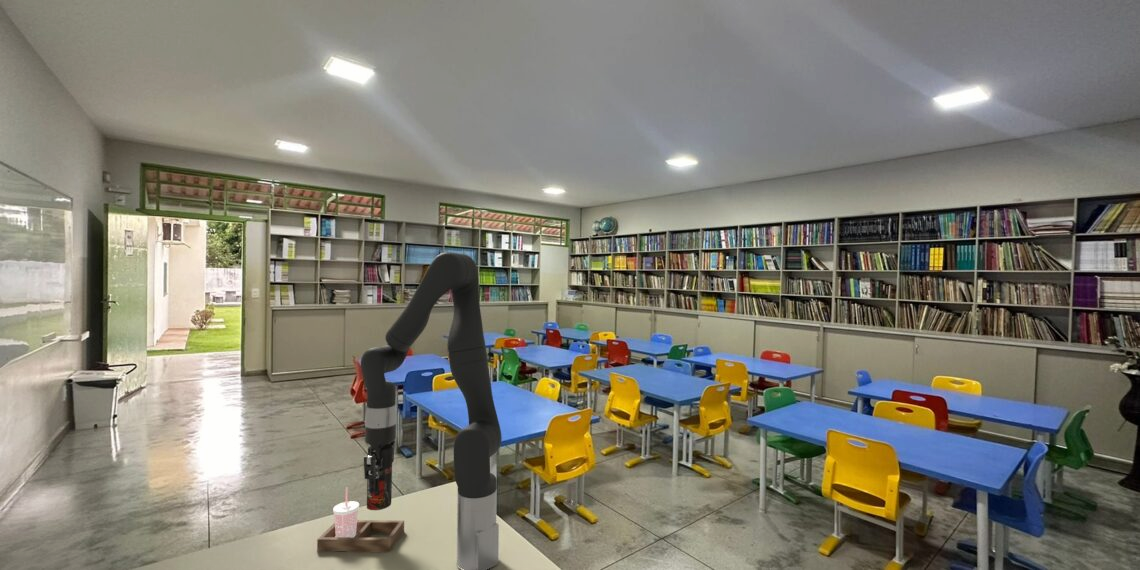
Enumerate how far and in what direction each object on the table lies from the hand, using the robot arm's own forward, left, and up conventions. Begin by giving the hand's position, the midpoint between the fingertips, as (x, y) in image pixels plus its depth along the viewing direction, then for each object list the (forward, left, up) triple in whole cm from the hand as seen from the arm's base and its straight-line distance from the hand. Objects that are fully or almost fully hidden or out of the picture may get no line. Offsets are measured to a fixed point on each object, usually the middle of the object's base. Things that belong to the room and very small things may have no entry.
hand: (379, 487), depth 117 cm
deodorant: (0, 0, -5) cm, 5 cm away
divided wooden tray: (+3, +3, -14) cm, 15 cm away
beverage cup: (+6, +6, -14) cm, 17 cm away
